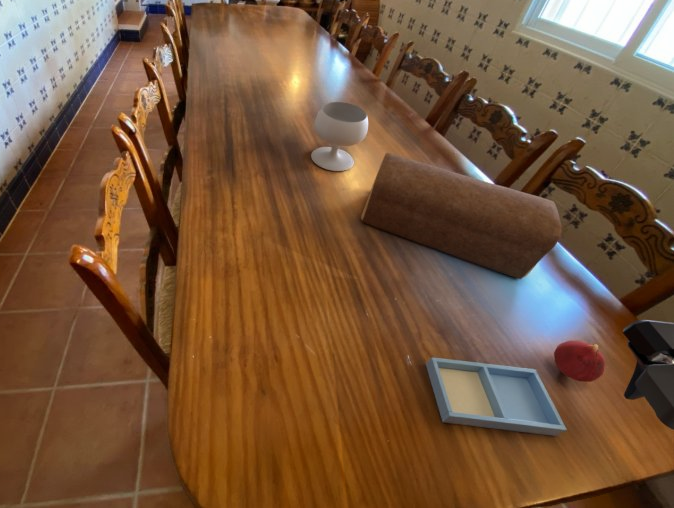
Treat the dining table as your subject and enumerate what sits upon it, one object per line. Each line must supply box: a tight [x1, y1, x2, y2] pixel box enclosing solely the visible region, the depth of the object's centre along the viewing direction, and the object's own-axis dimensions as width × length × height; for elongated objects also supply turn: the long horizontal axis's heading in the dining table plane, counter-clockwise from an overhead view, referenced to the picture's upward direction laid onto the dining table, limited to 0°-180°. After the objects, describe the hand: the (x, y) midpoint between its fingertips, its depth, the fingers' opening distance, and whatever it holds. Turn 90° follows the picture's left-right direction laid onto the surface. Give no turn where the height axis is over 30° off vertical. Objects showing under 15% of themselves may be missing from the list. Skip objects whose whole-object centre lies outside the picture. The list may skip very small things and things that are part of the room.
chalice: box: [310, 101, 369, 172], centre depth 97 cm, size 14×14×15 cm
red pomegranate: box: [553, 340, 606, 383], centre depth 56 cm, size 6×6×8 cm
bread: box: [360, 152, 563, 280], centre depth 78 cm, size 14×34×14 cm, turn 63°
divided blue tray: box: [425, 356, 568, 437], centre depth 54 cm, size 8×16×2 cm, turn 85°
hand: (657, 440), depth 41 cm, fingers open, 9 cm apart
